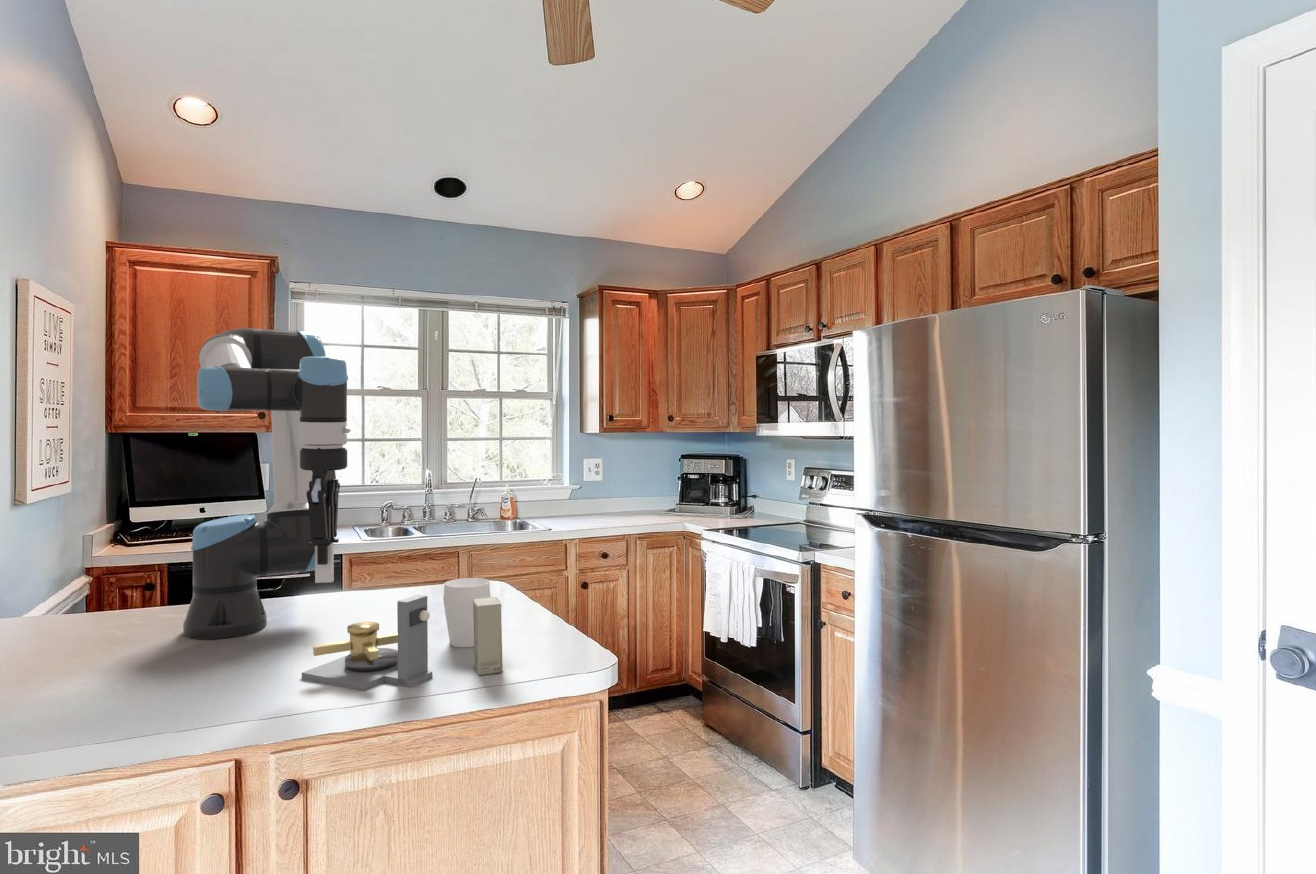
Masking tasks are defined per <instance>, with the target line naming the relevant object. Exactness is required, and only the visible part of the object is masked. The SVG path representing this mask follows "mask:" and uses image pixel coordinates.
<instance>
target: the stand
mask: <svg viewBox="0 0 1316 874" xmlns="http://www.w3.org/2000/svg"><path fill="white" fill-rule="evenodd" d="M396 606H397V608H396V609H397V611H396V613H397V618H396V619H397V633H398V643H397V651H398V663H397V664H395V665H394V666H391V667H388V668H385V669H380V670H374V671H354V670H349V669H347V668H346V667H345V658H346V656H348V655H349V654H348V655H345V656H342V657H340V658H336V659H335V660H332V661H329V662H327V663H323V664H320V665H318V666H316V667H313V668H310V669H308V670H304V671H302V672H301V679H303V680H308V681H313V682H318V683H323V684H328V685H333V686H339V687H344V688H348V689H352V690H353V689H354V690H360V691H363V692H364V691H366V690H369V689H371V688H373V687H375V686H378V685H380V684H382V683H388V684H389V683H390V684H395V685H400V686H405V687H411V688H412V687H414V686H415V687H416V686H417V685H419V684H421V683H423V682H425V681H428V680H430V679H431V678H433V671H432V670H429V666H428V662H429V661H428V660H429V659H428V656H429V655H428V654H429V653H428V652H429V651H428V648H429V647H428V644H429V643H428V634H429V633H428V620H429V619H430V617H431V614H430V612H429V611H428V595H423V594H416V595H415V594H414V595H413V596H409V597H407V598H403V599H401V600H397V605H396Z"/></svg>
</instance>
